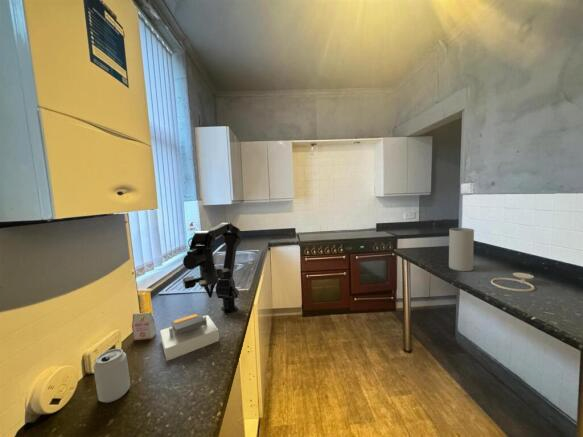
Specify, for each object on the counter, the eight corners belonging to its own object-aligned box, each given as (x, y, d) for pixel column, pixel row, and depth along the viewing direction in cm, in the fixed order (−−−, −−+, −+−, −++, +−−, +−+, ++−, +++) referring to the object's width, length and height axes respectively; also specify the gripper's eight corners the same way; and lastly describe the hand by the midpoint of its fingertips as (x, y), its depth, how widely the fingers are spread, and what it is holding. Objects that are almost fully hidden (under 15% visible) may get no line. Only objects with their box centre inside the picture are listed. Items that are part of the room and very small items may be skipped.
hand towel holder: (482, 274, 132) (510, 269, 137) (482, 282, 133) (510, 277, 138) (518, 285, 116) (549, 279, 121) (518, 294, 116) (548, 287, 122)
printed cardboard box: (138, 334, 100) (135, 311, 99) (156, 333, 100) (153, 310, 99) (133, 340, 96) (130, 316, 95) (151, 338, 96) (148, 314, 95)
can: (93, 398, 69) (87, 358, 67) (123, 380, 75) (117, 343, 74) (105, 409, 65) (99, 367, 64) (135, 389, 71) (130, 351, 70)
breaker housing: (161, 341, 94) (159, 322, 93) (208, 325, 104) (207, 307, 103) (166, 361, 83) (163, 339, 82) (219, 340, 93) (217, 321, 92)
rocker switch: (171, 326, 96) (170, 321, 96) (198, 317, 101) (198, 313, 101) (176, 334, 84) (175, 329, 84) (207, 324, 90) (206, 318, 90)
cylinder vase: (465, 265, 160) (466, 227, 158) (477, 271, 148) (478, 230, 145) (444, 265, 162) (445, 228, 159) (455, 272, 149) (456, 231, 146)
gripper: (185, 271, 88) (190, 312, 90) (235, 260, 98) (238, 297, 100) (180, 264, 98) (185, 301, 100) (226, 255, 107) (229, 289, 110)
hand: (210, 297), depth 102 cm, fingers closed
